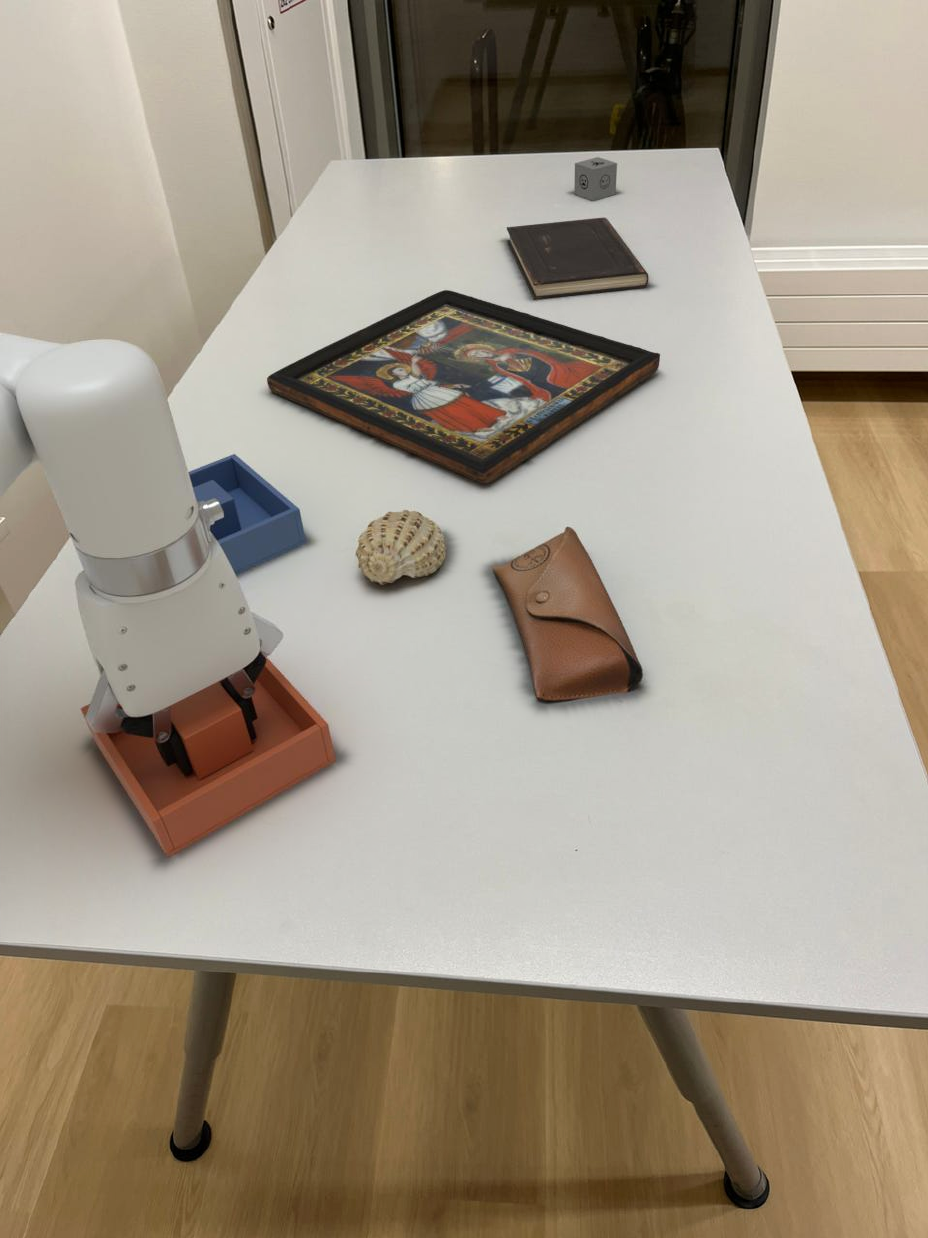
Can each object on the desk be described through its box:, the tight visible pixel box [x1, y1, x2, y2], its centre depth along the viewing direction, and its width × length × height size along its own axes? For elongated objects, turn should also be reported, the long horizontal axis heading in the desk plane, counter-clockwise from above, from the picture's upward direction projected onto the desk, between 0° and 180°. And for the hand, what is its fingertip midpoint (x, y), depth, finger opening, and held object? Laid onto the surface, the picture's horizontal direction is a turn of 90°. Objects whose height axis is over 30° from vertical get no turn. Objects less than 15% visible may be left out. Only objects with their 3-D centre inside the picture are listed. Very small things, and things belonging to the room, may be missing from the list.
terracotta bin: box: [80, 657, 337, 858], centre depth 69 cm, size 13×13×4 cm
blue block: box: [193, 480, 241, 541], centre depth 90 cm, size 4×4×4 cm
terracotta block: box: [170, 682, 253, 780], centre depth 69 cm, size 4×4×4 cm
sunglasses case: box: [492, 526, 644, 703], centre depth 78 cm, size 18×7×7 cm
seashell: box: [355, 509, 447, 586], centre depth 86 cm, size 8×6×10 cm
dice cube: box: [573, 156, 618, 202], centre depth 162 cm, size 5×5×5 cm
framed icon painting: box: [266, 289, 661, 484], centre depth 112 cm, size 38×35×3 cm
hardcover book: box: [506, 217, 649, 300], centre depth 139 cm, size 16×23×2 cm
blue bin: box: [188, 453, 307, 576], centre depth 90 cm, size 13×13×4 cm
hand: (212, 744), depth 70 cm, fingers closed on terracotta block, 4 cm apart
